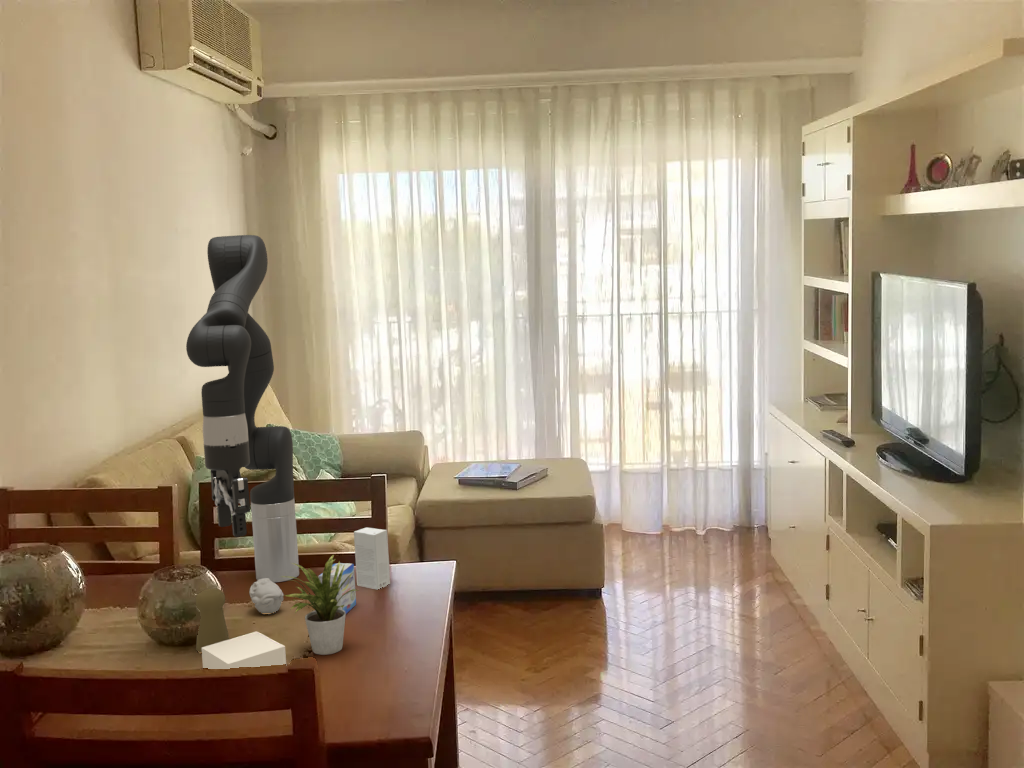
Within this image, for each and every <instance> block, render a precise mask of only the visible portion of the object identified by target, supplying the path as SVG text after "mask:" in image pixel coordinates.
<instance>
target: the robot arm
mask: <svg viewBox="0 0 1024 768" xmlns="http://www.w3.org/2000/svg"><path fill="white" fill-rule="evenodd" d="M207 243H208V244H207V250H206V252H207V261H208V268H209V271H210V277H211V281H212V284H213V290H214V293H212V295H211V298H210V300H209V302H208V306H207V309H206V313H204V314H203V316H202V317H200V319H199V320H198V321H197V322H196V323H195V324H194V325H193V327H192V328H191V330H190V331H189V333H188V336H187V340H186V348H185V349H186V354H187V357H188V359H189V360H190V362H191V363H193V364H194V365H195V366H198V367H201V368H212V367H214V368H215V367H227V370H228V373H227V375H226V376H224V377H221V378H218V379H214V380H210V381H207V382H205V383H204V384H203V385H202V386H201V402H202V403H201V406H202V439H203V440H202V441H203V451H204V452H203V453H204V465H205V468H206V469H208V470H210V471H209V473H210V481H211V482H210V483H211V499H212V501H214V504H215V506H216V507H217V509H216V510H217V521H218V523H217V524H218V526H219V527H221V528H224V527H225V528H226V527H230V526H231V528H232V535H233V536H234V537H236V538H239V537H244V536H246V535H247V534H248V533H247V531H248V530H247V517H246V514H248V513H250V512H251V513H250V514H251V525H252V537H253V539H252V540H253V549H254V550H253V551H254V567H255V579H256V581H258V580H260V579H263V578H269V579H270V581H272V582H273V583H281V582H287V580H293V579H294V578H290V577H295V578H297V577H299V575H300V568H299V567H298V566H297V565H300V564H299V551H298V548H299V547H298V535H297V534H298V533H297V532H298V531H297V518H296V506H295V505H296V504H295V503H296V502H295V491H294V487H295V486H294V485H295V484H294V483H295V482H294V448H293V447H294V445H293V444H294V443H293V436H292V433H291V429H289V428H288V427H287V426H282V425H279V426H276V425H275V426H257V425H256V423H255V415H256V410H257V408H258V406H259V403H260V401H261V399H262V397H263V395H264V394H265V391H266V390H267V388H268V387H269V384H270V382H271V380H272V378H273V376H274V375H273V374H274V371H275V364H274V357H273V350H272V345H271V340H270V338H269V336H268V334H267V333H266V332H265V330H264V329H263V328H262V326H261V325H260V324H259V323H258V321H256V320H255V318H254V317H252V315H250V313H249V310H250V305H251V303H252V301H253V299H254V297H255V296H256V294H257V292H258V291H259V289H260V287H261V285H262V284H263V281H264V279H265V277H266V274H267V271H268V264H269V263H268V253H267V252H268V251H267V248H266V245H265V242H264V240H263V239H262V238H261V237H260V236H258V235H254V234H243V235H242V234H241V235H223V236H222V235H221V236H214V237H212V238H210V240H209V241H208V242H207ZM242 468H245V469H247V470H249V471H250V470H251V471H254V470H255V471H257V470H260V471H261V470H262V471H263V470H264V471H265V470H275V476H273V477H271V479H269V480H267V481H265V482H262V483H260V484H257V485H255V486H253V487H252V488H251V489H250V490H249V479H248V478H247V476H246V477H243V476H242V475H241V472H240V471H241V469H242ZM249 491H250V492H249ZM239 504H240V505H239ZM292 563H294V564H292ZM295 564H297V565H295ZM283 576H288V577H283Z"/></svg>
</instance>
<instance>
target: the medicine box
mask: <svg viewBox="0 0 1024 768" xmlns="http://www.w3.org/2000/svg"><path fill="white" fill-rule="evenodd" d="M338 563H339V562H338ZM338 563H333V565H332V570H331V576H330V587H331V586H332V582H333V578H334V575H335V571H336V568H337V566H338ZM344 564H345V565H344ZM343 566H344V570H343V574H342V577H341V579H342V578H343V579H342V580H341V581H340V584H339V587H340V585H341V584H342V583H343V582H344V581H345V580H346V578H347V577H348V576H349V575H350V574H351V575H350V576H349V577H348V579H347V580H346V581H345V583H344V584H343V585H342V587H341V588H340V590H339V592H338V594H337V597H336V599H337V602H338V600H339V599H340V598H341V596H342V595H344V594H345V593H346V592H348V591H350V590H354V589H356V579H355V564H354V563H350V562H349V563H347V562H346V563H343V562H340V565H339V572H338V575H337V578H336V581H337V580H338V577H339V574H340V572H341V570H342V568H343ZM322 574H323V572H322V573H320V574H319V575H317V576H318V578H319V580H320V581H321V583H322ZM339 587H338V588H339ZM342 605H344V606H343V609H342V607H339V608H338V609H342V610H344V611H345V612H346V615H347V614H348V613H349V612H350V611H351V610H353V608H354V607H355V606H356V605H357V596H356V591H351V592H349V593H347V594H345V595H344V596H343V597H342V598H341V599H340V600H339V602H338V604H337V605H336V606H342Z"/></svg>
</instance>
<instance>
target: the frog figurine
mask: <svg viewBox="0 0 1024 768" xmlns="http://www.w3.org/2000/svg"><path fill="white" fill-rule="evenodd" d="M284 595H285V594H284V592H283V591H282V589H281V588H280V586H279V585H278V584H276V582H272V581H270V579H269V578H263V579H260V580H256V581H254V582H253V583H252V584H251V586H250V588H249V596H250V599H251V602H252V603H253V604H254V607H255V608H254V609H256V610H257V611H258V612H259V613H260V612H261V613H260V614H262V613H273V612H275V613H277V612H278V611H279V609H280V608H281V605H282V602H283V601H284V597H285V596H284ZM276 611H277V612H276ZM273 614H274V613H273Z"/></svg>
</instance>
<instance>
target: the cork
mask: <svg viewBox="0 0 1024 768" xmlns="http://www.w3.org/2000/svg"><path fill="white" fill-rule="evenodd" d="M206 589H207V590H205V589H203V590H204V591H202V590H201V591H202V592H201V593H199V594H198V595H197V597H196V606H197V608H198V609H199V610H200V611H201V619H200V626H199V629H198V630H199V631H198V635H197V634H196V642H195V644H196V646H195V651H196V650H197V651H199V652H202V649H201V648H202V647H205V646H209V645H212V644H215V643H219V642H222V641H225V640H229V639H230V636H229V632H228V626H227V622H226V618H225V617H226V616H225V614H224V609H223V607H224V605H225V601H226V597H225V593H224V592H223V591H222V590H221V589H219V588H213V587H212V589H211V588H206ZM197 608H196V609H197ZM197 651H196V652H197Z"/></svg>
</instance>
